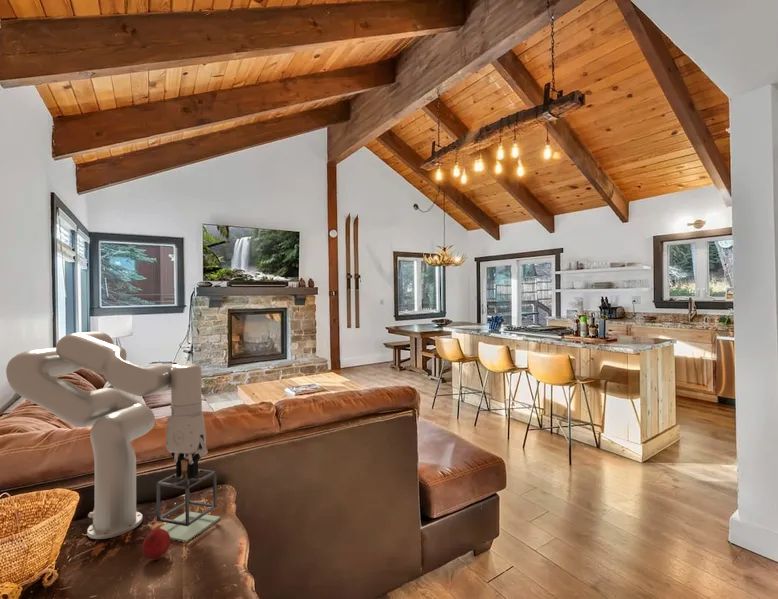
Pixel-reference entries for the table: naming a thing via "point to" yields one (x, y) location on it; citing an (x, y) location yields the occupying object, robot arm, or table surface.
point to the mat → (193, 529)
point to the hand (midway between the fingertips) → (187, 475)
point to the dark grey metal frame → (186, 494)
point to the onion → (156, 543)
